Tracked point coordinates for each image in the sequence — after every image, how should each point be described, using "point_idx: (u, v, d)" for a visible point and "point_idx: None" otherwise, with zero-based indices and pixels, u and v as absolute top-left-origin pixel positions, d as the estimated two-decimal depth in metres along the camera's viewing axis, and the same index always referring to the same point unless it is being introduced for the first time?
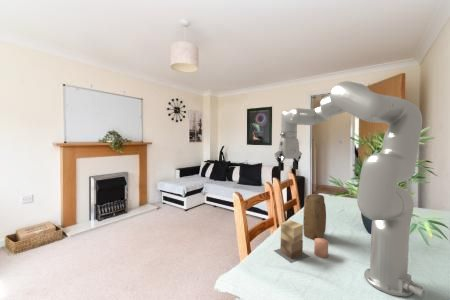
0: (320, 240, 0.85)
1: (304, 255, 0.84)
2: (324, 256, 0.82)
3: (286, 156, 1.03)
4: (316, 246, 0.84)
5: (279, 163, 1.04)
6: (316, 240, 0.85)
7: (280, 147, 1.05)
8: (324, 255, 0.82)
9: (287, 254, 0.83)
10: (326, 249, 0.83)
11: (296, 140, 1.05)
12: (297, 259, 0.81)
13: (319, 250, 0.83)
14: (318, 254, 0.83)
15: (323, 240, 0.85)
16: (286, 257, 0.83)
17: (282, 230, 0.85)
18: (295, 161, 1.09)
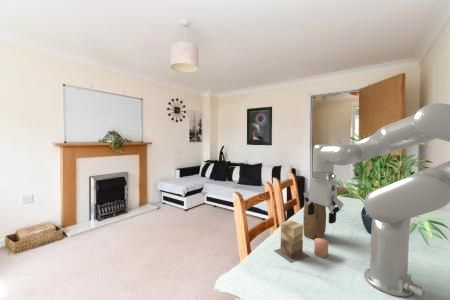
0: (320, 240, 0.85)
1: (304, 255, 0.84)
2: (324, 256, 0.82)
3: None
4: (316, 246, 0.84)
5: (334, 214, 0.79)
6: (316, 240, 0.85)
7: (332, 193, 0.79)
8: (324, 255, 0.82)
9: (287, 254, 0.83)
10: (326, 249, 0.83)
11: None
12: (297, 259, 0.81)
13: (319, 250, 0.83)
14: (318, 254, 0.83)
15: (323, 240, 0.85)
16: (286, 257, 0.83)
17: (282, 230, 0.85)
18: (312, 205, 0.89)
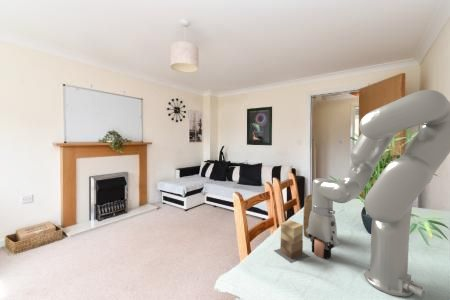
0: (320, 240, 0.85)
1: (304, 255, 0.84)
2: None
3: None
4: (316, 246, 0.84)
5: (329, 250, 0.81)
6: (316, 240, 0.85)
7: (331, 229, 0.80)
8: None
9: (287, 254, 0.83)
10: None
11: None
12: (297, 259, 0.81)
13: (319, 250, 0.83)
14: (318, 254, 0.83)
15: None
16: (286, 257, 0.83)
17: (282, 230, 0.85)
18: None
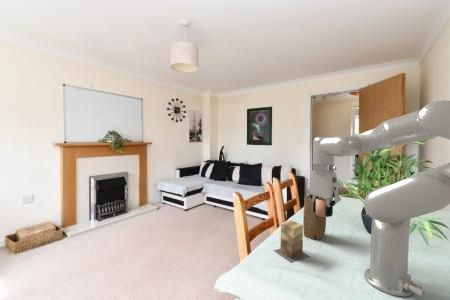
0: (321, 199, 0.84)
1: (304, 255, 0.84)
2: None
3: None
4: (317, 205, 0.83)
5: (331, 208, 0.80)
6: (317, 199, 0.84)
7: (333, 185, 0.79)
8: None
9: (287, 254, 0.83)
10: None
11: None
12: (297, 259, 0.81)
13: (320, 208, 0.82)
14: (320, 212, 0.82)
15: (324, 199, 0.84)
16: (286, 257, 0.83)
17: (282, 230, 0.85)
18: None
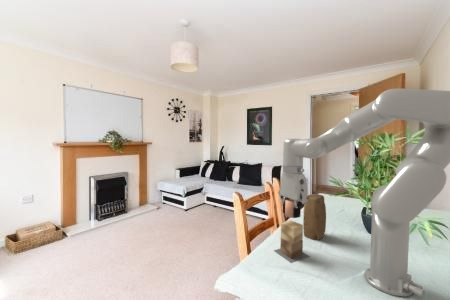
0: (291, 200, 0.85)
1: (304, 255, 0.84)
2: None
3: None
4: (286, 205, 0.84)
5: (298, 209, 0.81)
6: (287, 200, 0.85)
7: (300, 186, 0.80)
8: None
9: (287, 254, 0.83)
10: None
11: None
12: (297, 259, 0.81)
13: (289, 209, 0.83)
14: (288, 213, 0.83)
15: None
16: (286, 257, 0.83)
17: (282, 230, 0.85)
18: None
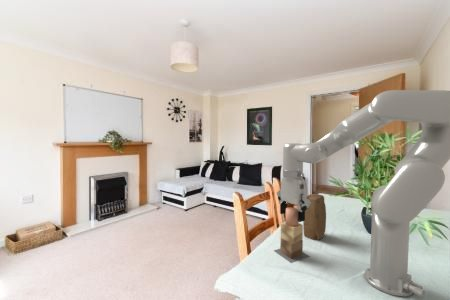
0: (291, 209, 0.85)
1: (304, 255, 0.84)
2: (295, 224, 0.83)
3: None
4: (287, 214, 0.84)
5: (303, 212, 0.80)
6: (287, 209, 0.85)
7: (301, 191, 0.80)
8: (294, 222, 0.83)
9: (287, 254, 0.83)
10: (296, 217, 0.83)
11: None
12: (297, 259, 0.81)
13: (289, 218, 0.83)
14: (289, 222, 0.83)
15: (294, 209, 0.85)
16: (286, 257, 0.83)
17: (282, 230, 0.85)
18: (284, 204, 0.89)
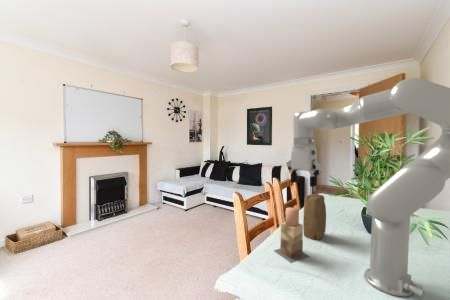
0: (291, 209, 0.85)
1: (304, 255, 0.84)
2: (295, 224, 0.83)
3: None
4: (287, 214, 0.84)
5: (315, 177, 0.82)
6: (287, 209, 0.85)
7: (312, 157, 0.82)
8: (294, 222, 0.83)
9: (287, 254, 0.83)
10: (296, 217, 0.83)
11: None
12: (297, 259, 0.81)
13: (289, 218, 0.83)
14: (289, 222, 0.83)
15: (294, 209, 0.85)
16: (286, 257, 0.83)
17: (282, 230, 0.85)
18: (294, 173, 0.91)
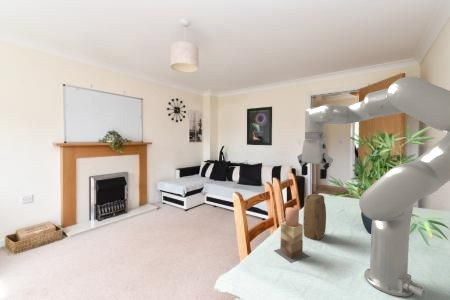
0: (291, 209, 0.85)
1: (304, 255, 0.84)
2: (295, 224, 0.83)
3: None
4: (287, 214, 0.84)
5: (325, 170, 0.86)
6: (287, 209, 0.85)
7: (323, 151, 0.86)
8: (294, 222, 0.83)
9: (287, 254, 0.83)
10: (296, 217, 0.83)
11: None
12: (297, 259, 0.81)
13: (289, 218, 0.83)
14: (289, 222, 0.83)
15: (294, 209, 0.85)
16: (286, 257, 0.83)
17: (282, 230, 0.85)
18: (305, 166, 0.95)
